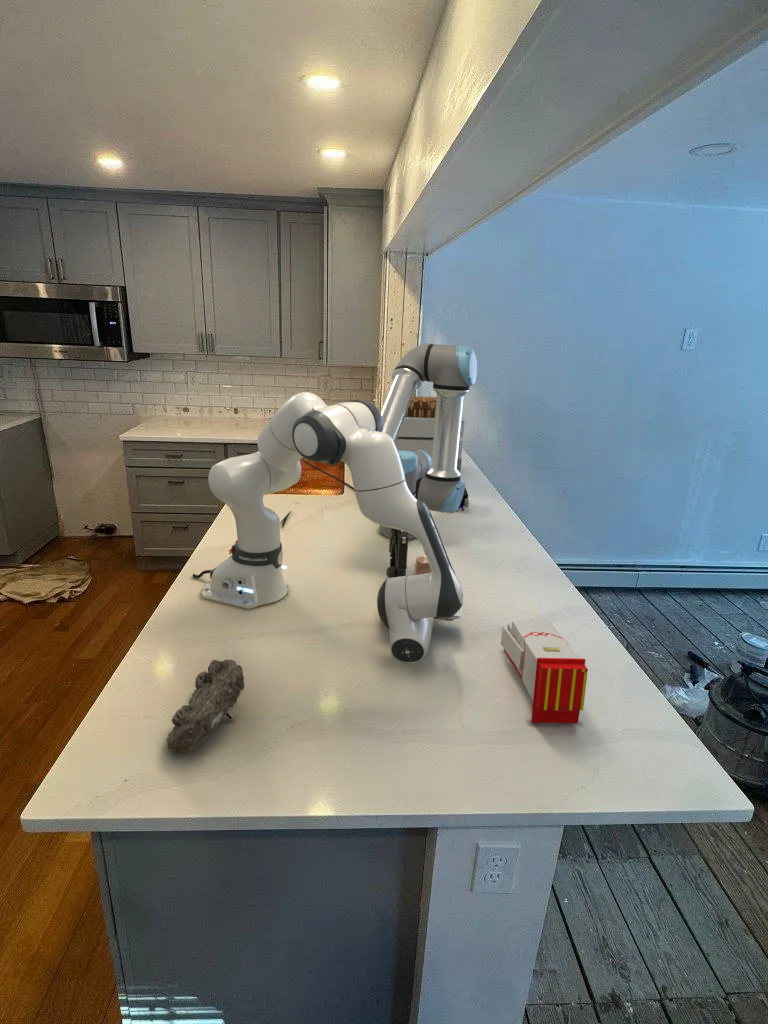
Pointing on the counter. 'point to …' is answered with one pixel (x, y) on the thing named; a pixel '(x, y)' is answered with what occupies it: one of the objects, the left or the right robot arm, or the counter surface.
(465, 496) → the figurine character
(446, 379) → the right robot arm
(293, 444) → the left robot arm
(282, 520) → the feather
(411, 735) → the counter surface
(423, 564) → the jar
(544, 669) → the toy
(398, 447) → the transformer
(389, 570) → the lid
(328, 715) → the counter surface
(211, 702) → the fossil
